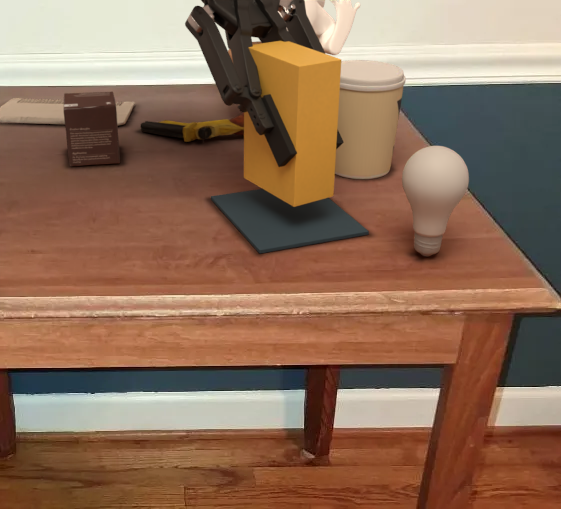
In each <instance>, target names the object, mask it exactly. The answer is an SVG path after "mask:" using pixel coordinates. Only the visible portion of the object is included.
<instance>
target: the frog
mask: <svg viewBox="0 0 561 509" xmlns="http://www.w3.org/2000/svg"><path fill="white" fill-rule="evenodd" d="M304 1H305V8H306V14H307V17H308V19H309V21H310V23H311V25H312V27H313V29H314V31H315V33H316V35H317V37H318V39H319V41H320V43H321V45H322V47H323V49H324V51H325V54H327V55H330V56H337V55H339V54H340V53H341V51H342V50H343V47H344V45H345V43H346V41H347V39H348V37H349V35H350V32H351V30H352V28H353V24H354V21H355V17H356V13H357V11H358V9H360V8H361V2H356V3H355V4H354V7H353V5H352V4H353V3H352V0H329V1H330V3H332V4H333V6H334V9H335V13H336V19H334V18H333V16H332V15H330V14H329V13H328V12H327V11H326V9H325V8H324V7H323V8H322V7H321V6H320V5H319V4H318V2H317V1H316V0H304ZM278 12H279V11H278ZM279 14H280V15H281V13H280V12H279ZM281 17H282V15H281ZM287 31H288V30H287Z"/></svg>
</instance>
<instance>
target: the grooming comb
mask: <svg viewBox="0 0 561 509" xmlns="http://www.w3.org/2000/svg"><path fill="white" fill-rule="evenodd" d="M115 103H116V111H117V125H118V126H123V125H125V124H126V123H127V121H128V120H129V118H130V115H131V113H132V111H133V108H134V106H135V104H136V102H135V101H120V102H119V100H118V101H116V102H115ZM0 123H8V124H9V123H12V124H13V123H14V124H15V123H17V124H19V123H20V124H23V123H24V124H44V125H45V124H47V125H49V124H50V125H65V120H64V100H63V99H57V100H56V99H54V100H53V98H52V99H50V98H48V99H46V98H45V99H43V98H41V99H39V98H38V99H36V98H34V99H33V98H22V97H12V98H11V99H9V100H7V101H6V102H5V103H4V104H2V105H1V106H0Z"/></svg>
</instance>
